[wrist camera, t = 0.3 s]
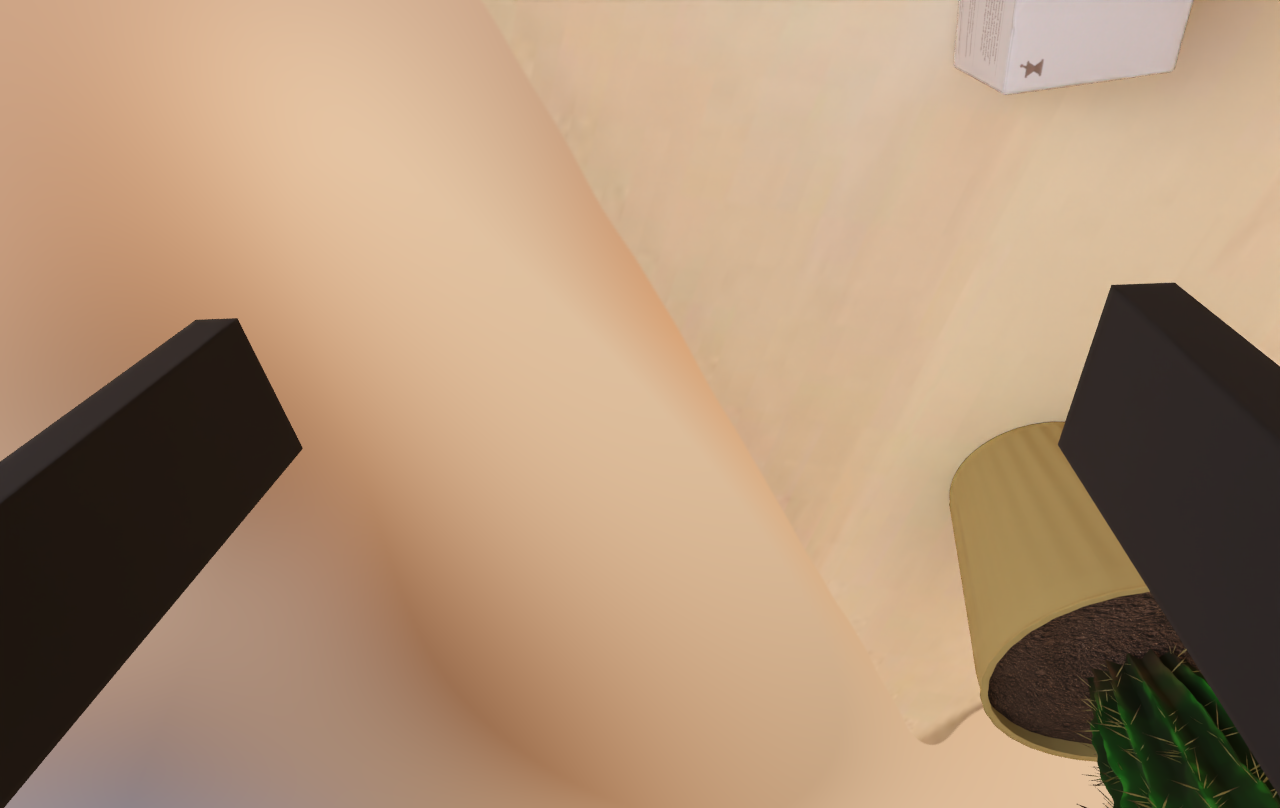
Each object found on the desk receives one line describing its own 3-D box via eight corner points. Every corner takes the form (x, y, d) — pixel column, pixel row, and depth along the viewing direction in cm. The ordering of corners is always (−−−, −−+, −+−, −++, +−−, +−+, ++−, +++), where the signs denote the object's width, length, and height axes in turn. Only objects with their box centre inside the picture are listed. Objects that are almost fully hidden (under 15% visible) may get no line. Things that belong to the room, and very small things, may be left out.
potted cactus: (1070, 584, 50) (1386, 1193, 26) (879, 532, 49) (1020, 1111, 25) (1225, 433, 41) (1935, 1151, 17) (995, 366, 40) (1392, 1019, 16)
